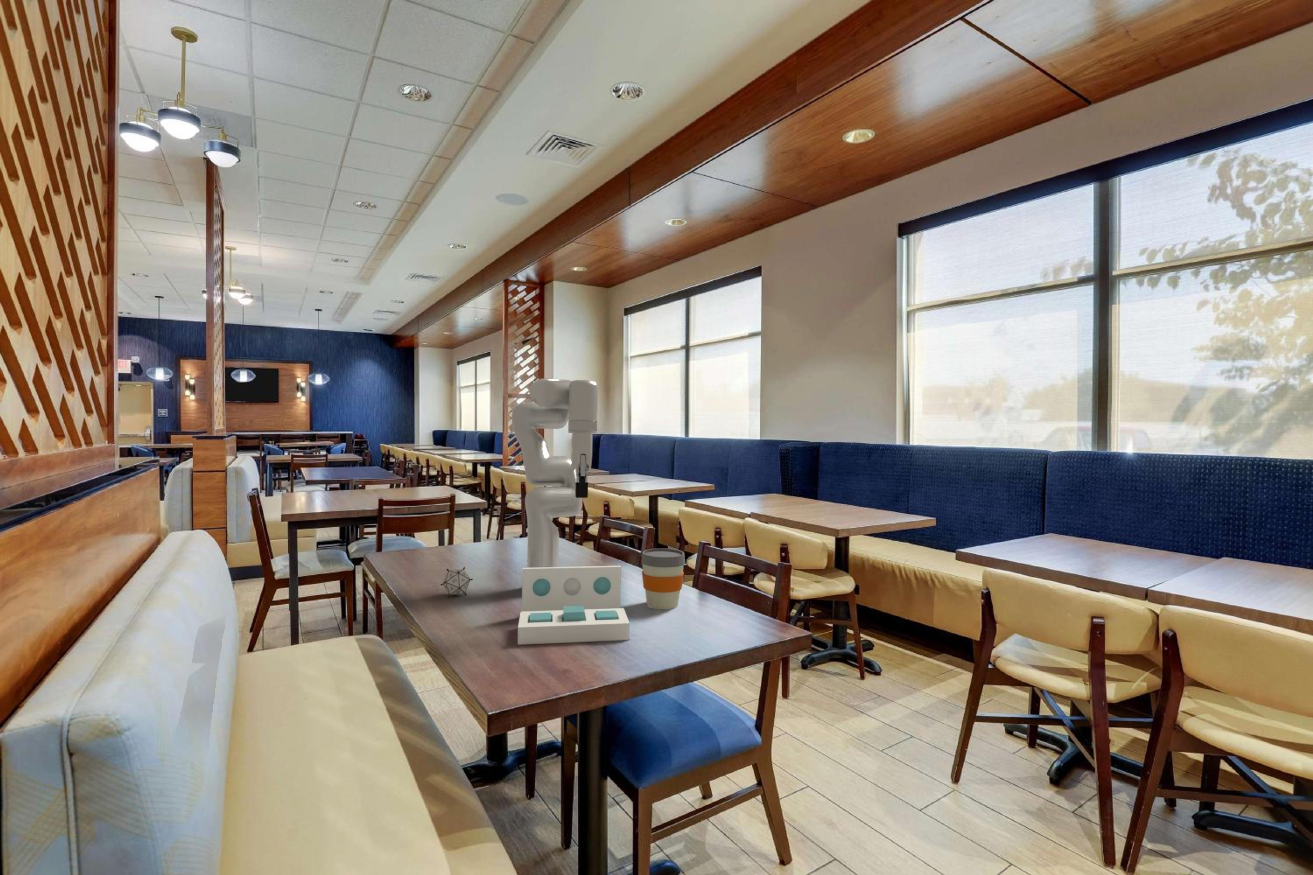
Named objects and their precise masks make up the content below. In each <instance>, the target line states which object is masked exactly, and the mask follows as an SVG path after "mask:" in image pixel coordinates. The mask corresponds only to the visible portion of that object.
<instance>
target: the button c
mask: <svg viewBox="0 0 1313 875" xmlns="http://www.w3.org/2000/svg"><path fill="white" fill-rule="evenodd" d="M616 619H618V616H617V613H616V611H615V610H611V611H596V614H595V620H616Z"/></svg>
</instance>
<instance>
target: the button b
mask: <svg viewBox="0 0 1313 875" xmlns="http://www.w3.org/2000/svg"><path fill="white" fill-rule="evenodd" d="M563 621H585V611H584V606H563Z"/></svg>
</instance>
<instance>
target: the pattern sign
mask: <svg viewBox="0 0 1313 875" xmlns="http://www.w3.org/2000/svg"><path fill="white" fill-rule="evenodd" d="M521 574H522V575H521V576H522V581H521V582H522V584H521V612H523V611H553V610H563V606H584V609H613V608H621V596H622V595H621V593H622V591H621V590H622V587H621V585H622V566H621V565H596V566H595V565H594V566H588V565H587V566H559V567H538V568H527V567H522V572H521Z"/></svg>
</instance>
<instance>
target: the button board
mask: <svg viewBox="0 0 1313 875" xmlns="http://www.w3.org/2000/svg"><path fill="white" fill-rule="evenodd" d="M611 610H615V611H616V613H617V616H618V619H616V620H595V614H596V611H611ZM584 611H585V621H563V610H553V611H523V612H522V611H520V614H519V619H518V626H517V646H518V645H535V644H536V645H537V644H538V645H540V644H541V645H542V644H561V643H562V644H564V643H566V644H567V643H582V642H585V643H588V642H590V643H591V642H607V641H608V642H609V641H610V642H611V641H629V640H630V624H631V623H630V620H629V618H628V616H627V612H626V611H625V608H622V607H620V608H613V609H584ZM530 613H551V622H534V623H530Z"/></svg>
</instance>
